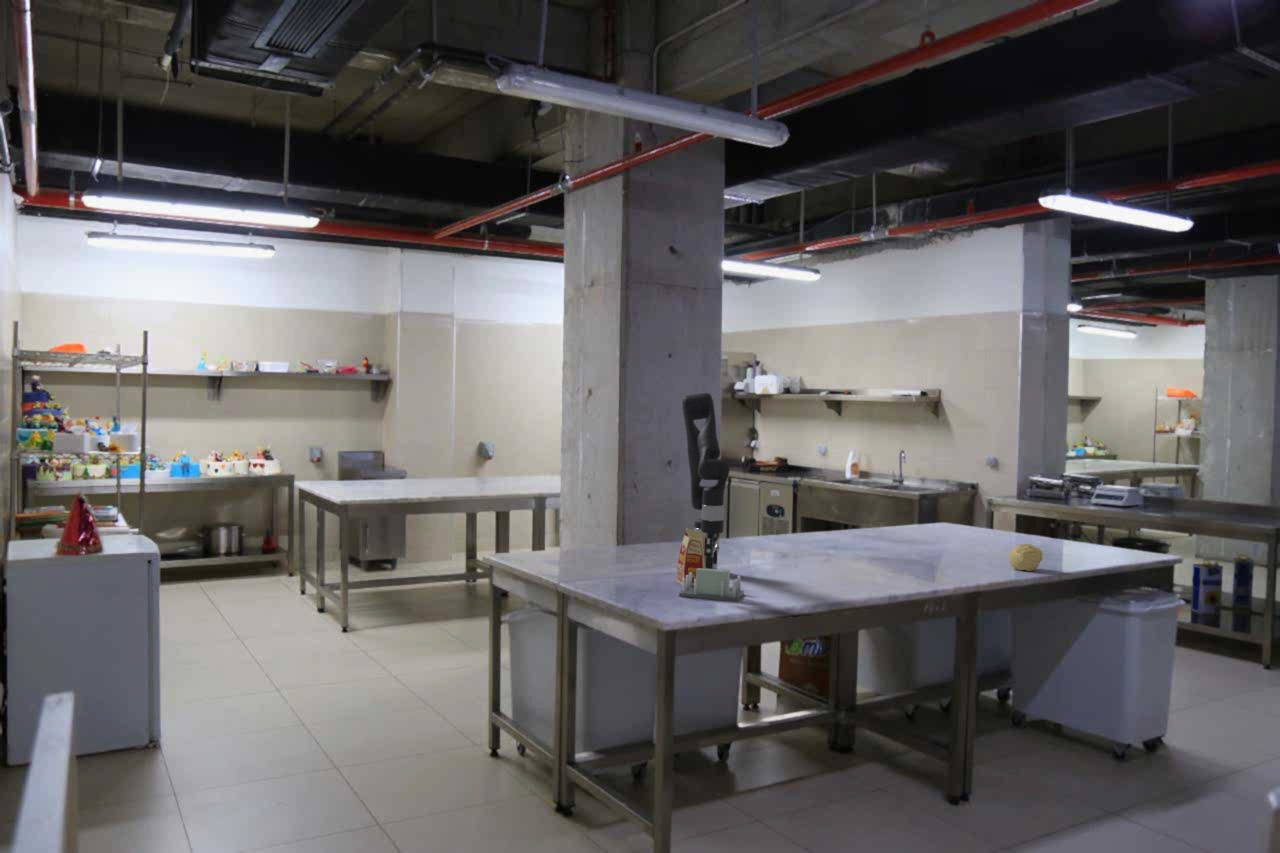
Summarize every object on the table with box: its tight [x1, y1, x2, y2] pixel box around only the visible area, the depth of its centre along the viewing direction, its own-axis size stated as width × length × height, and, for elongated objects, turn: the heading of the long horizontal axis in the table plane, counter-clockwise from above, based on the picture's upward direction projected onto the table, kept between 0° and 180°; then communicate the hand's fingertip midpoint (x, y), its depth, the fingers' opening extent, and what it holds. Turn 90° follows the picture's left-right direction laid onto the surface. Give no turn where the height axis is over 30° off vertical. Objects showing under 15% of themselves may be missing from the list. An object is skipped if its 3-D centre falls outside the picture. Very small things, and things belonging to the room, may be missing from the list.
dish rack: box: [678, 572, 744, 602], centre depth 306 cm, size 12×20×6 cm, turn 75°
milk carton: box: [676, 527, 705, 586], centre depth 327 cm, size 9×9×20 cm
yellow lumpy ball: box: [1008, 543, 1044, 572], centre depth 370 cm, size 11×12×11 cm
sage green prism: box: [696, 568, 731, 596], centre depth 303 cm, size 3×11×8 cm, turn 75°
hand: (711, 566), depth 303 cm, fingers open, 8 cm apart
